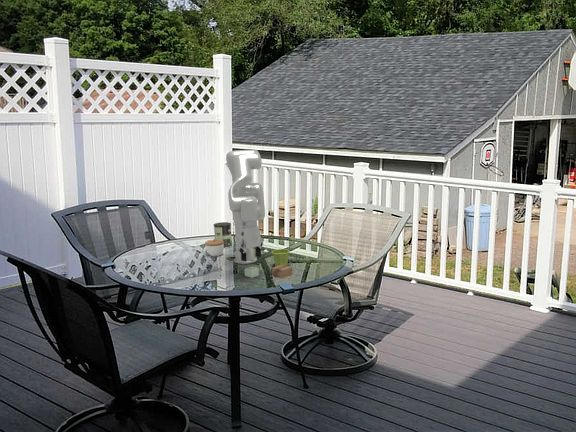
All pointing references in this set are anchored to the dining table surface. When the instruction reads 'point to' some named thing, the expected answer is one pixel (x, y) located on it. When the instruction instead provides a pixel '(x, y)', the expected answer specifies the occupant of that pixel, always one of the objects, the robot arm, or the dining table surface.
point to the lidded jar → (214, 247)
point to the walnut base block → (282, 271)
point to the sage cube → (251, 272)
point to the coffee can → (223, 233)
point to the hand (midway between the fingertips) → (251, 258)
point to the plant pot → (280, 257)
